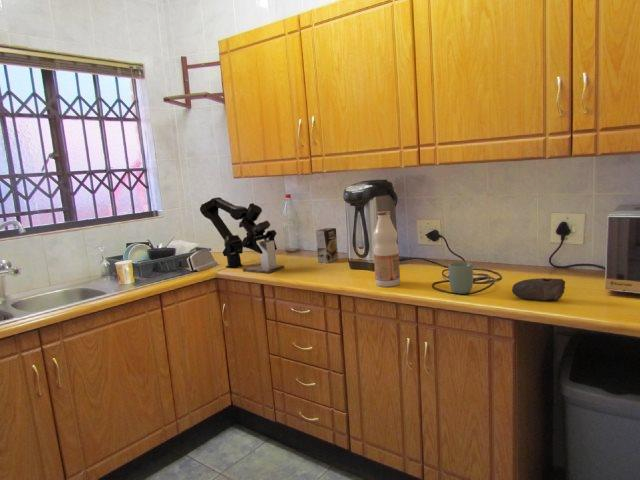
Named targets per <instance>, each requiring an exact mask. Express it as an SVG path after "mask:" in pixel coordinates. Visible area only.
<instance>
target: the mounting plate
mask: <svg viewBox="0 0 640 480" xmlns="http://www.w3.org/2000/svg"><path fill="white" fill-rule="evenodd" d="M276 266H277V268H273V269H270V270H266V269H262V267H261V263H257V264H254V265H251V266H247V267H245V268H243V269H242V272H244V273H257V274H267V275H268V274H271V273H275V272H276V271H279V270H283V269H285V265H283V264H276Z"/></svg>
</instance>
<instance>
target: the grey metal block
mask: <svg viewBox="0 0 640 480" xmlns="http://www.w3.org/2000/svg"><path fill="white" fill-rule="evenodd" d="M186 262H187V265H188V267H189V271H192V272H194V271H199V272H201V270H202V271H204V269H205V270H207V269H210V268H212V267H215V266H218V265H219V263H218V261H217V260H216V259H215V257H214V255H213V254H212V252H211V251H210V250H199V251H195V252H194V253H192V254H191V255H190V256H188V258H186Z"/></svg>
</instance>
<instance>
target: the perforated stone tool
mask: <svg viewBox="0 0 640 480" xmlns="http://www.w3.org/2000/svg"><path fill="white" fill-rule="evenodd" d="M565 286H566V281H565V280H564V279H563V278H553V277H552V278H551V277H550V278H544V277H543V278H542V277H541V278H528V279H523V280H520V281H517V282H516V283H514V284H513V286H512V288H511V292H512V293H513V295H514V296H515V297H517V298H520V299H523V300H531V301H540V302H541V301H542V302H545V301H550V300H551V301H554V302H556V301H558V300H559V299H561V298H562V297H563V295H564V293H565V291H566V290H565V289H566V287H565Z"/></svg>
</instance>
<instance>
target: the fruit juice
mask: <svg viewBox="0 0 640 480" xmlns="http://www.w3.org/2000/svg"><path fill="white" fill-rule="evenodd" d="M376 216H377V222H376V226H375V228H374V230H373V234H372V239H373V241H374V245H373V258H374V259H373V262H374V278H375V279H374V280H375V285H376V286H378V287H383V288H384V287H385V288H389V287H390V288H391V287H397V286H399V285H400V283H401V274H400V273H401V272H400V271H401V270H400V253H399V252H400V251H399V245H398V243H397V239H398V232H397V230H396V228H395V226H394V224H393V221H392V219H391V210H384V211H377V212H376Z"/></svg>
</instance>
